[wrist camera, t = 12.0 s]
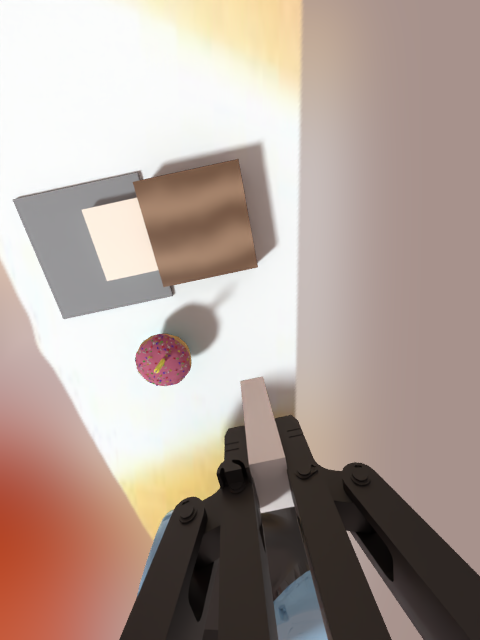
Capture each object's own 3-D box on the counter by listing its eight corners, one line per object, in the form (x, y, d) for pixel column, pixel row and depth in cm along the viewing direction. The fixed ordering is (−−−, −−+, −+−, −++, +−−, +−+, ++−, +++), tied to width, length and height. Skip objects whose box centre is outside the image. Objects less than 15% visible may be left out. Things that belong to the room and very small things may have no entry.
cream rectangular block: (162, 268, 39) (159, 269, 37) (112, 279, 39) (107, 281, 37) (142, 199, 36) (138, 197, 34) (88, 211, 36) (81, 209, 34)
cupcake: (153, 318, 42) (126, 345, 30) (202, 335, 43) (193, 368, 32) (139, 362, 44) (108, 403, 32) (185, 377, 45) (171, 422, 34)
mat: (173, 295, 41) (172, 296, 40) (65, 318, 41) (63, 319, 41) (138, 173, 36) (136, 172, 35) (15, 200, 36) (12, 199, 35)
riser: (254, 265, 40) (257, 267, 36) (169, 283, 40) (163, 287, 36) (237, 168, 36) (238, 159, 32) (142, 188, 36) (132, 181, 32)
